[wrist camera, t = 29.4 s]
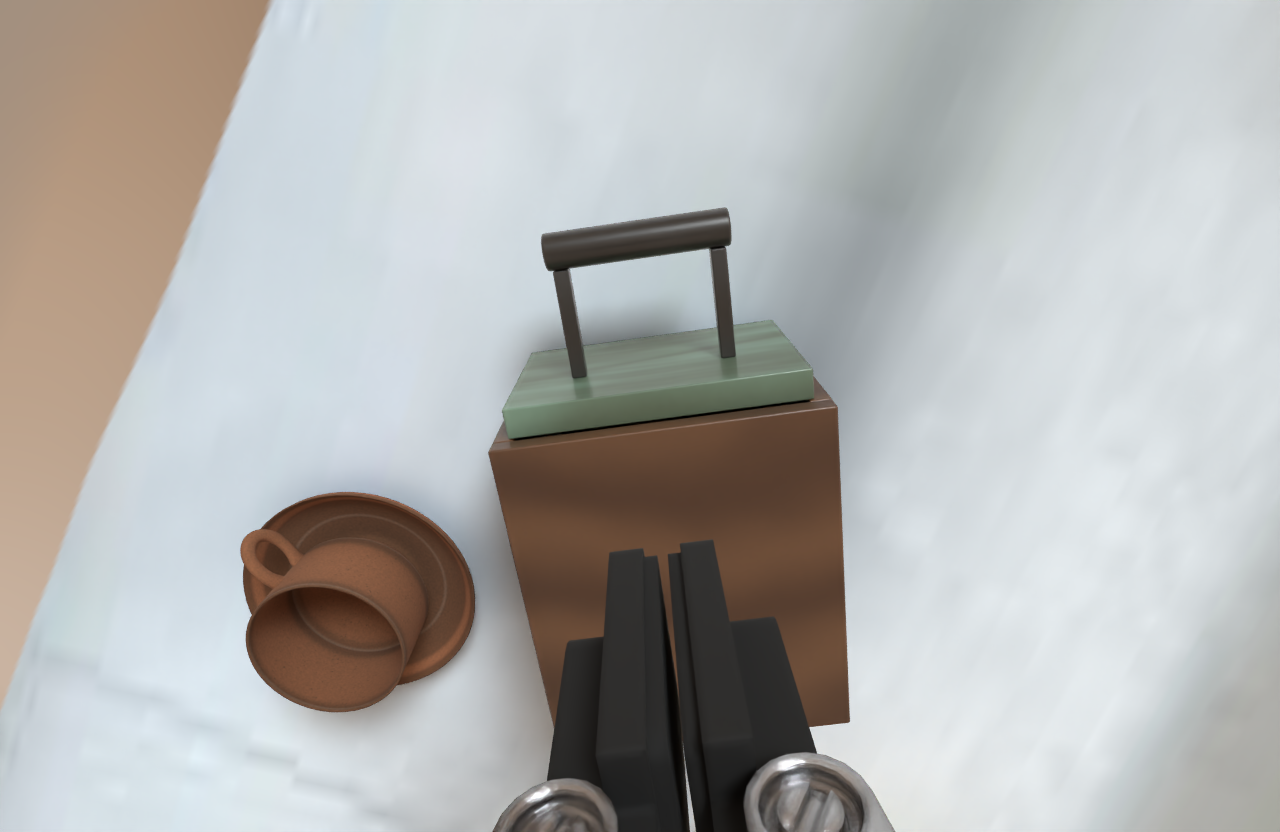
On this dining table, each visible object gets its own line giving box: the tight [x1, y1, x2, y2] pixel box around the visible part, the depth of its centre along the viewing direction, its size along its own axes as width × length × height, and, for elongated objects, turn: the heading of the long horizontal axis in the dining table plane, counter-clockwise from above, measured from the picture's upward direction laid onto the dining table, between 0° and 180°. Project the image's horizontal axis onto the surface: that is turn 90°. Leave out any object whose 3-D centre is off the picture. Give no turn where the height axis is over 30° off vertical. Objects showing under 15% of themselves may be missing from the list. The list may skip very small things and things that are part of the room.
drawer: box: [502, 208, 814, 439], centre depth 30 cm, size 19×11×8 cm, turn 8°
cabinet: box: [488, 376, 850, 740], centre depth 31 cm, size 15×13×10 cm
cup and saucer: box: [241, 492, 475, 712], centre depth 35 cm, size 12×12×6 cm
